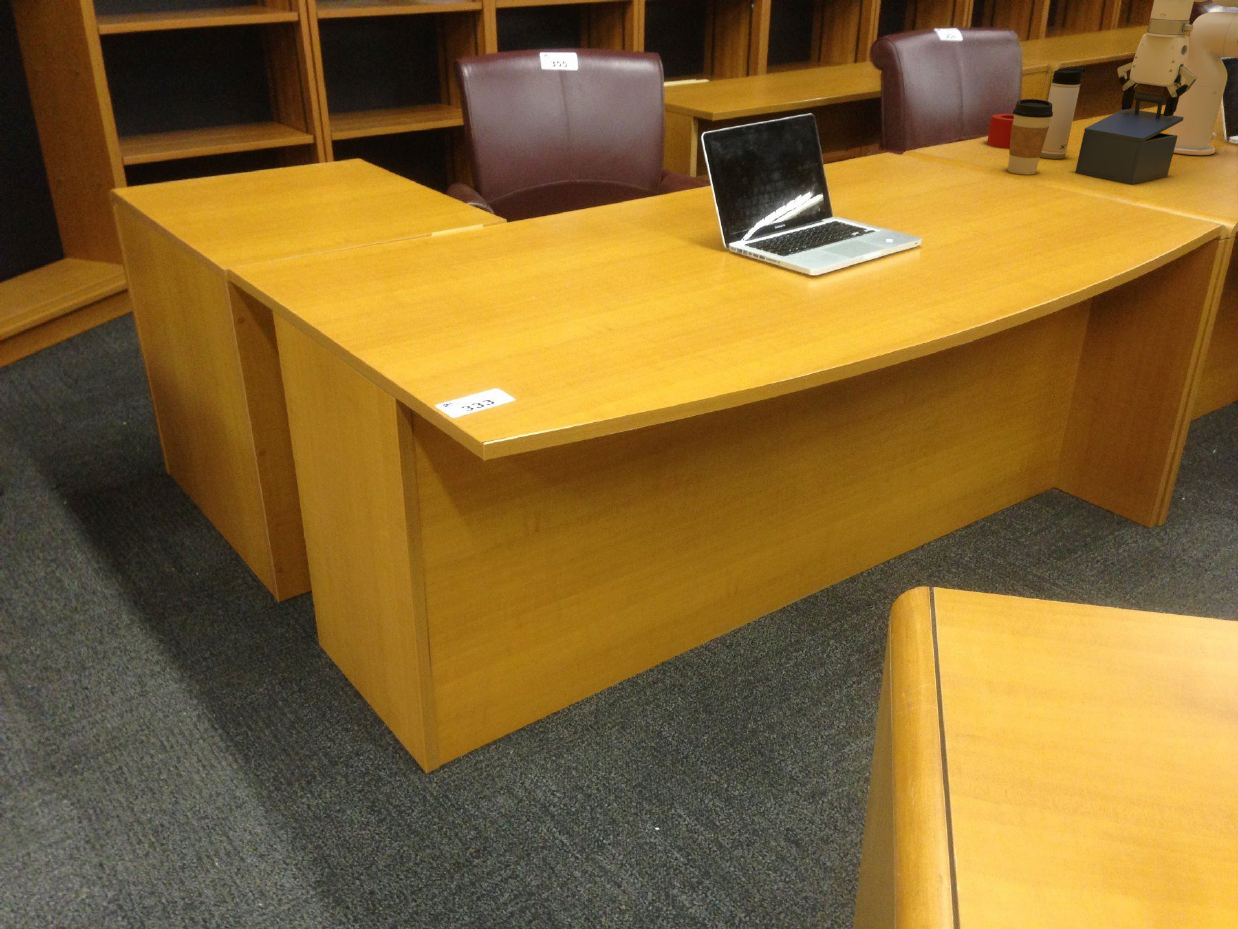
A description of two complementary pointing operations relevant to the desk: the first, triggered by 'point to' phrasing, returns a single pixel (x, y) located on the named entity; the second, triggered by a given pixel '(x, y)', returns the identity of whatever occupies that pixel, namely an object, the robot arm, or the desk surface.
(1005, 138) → the lever
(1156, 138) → the dark grey hollow box
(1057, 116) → the travel mug
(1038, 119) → the coffee cup
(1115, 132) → the lid
